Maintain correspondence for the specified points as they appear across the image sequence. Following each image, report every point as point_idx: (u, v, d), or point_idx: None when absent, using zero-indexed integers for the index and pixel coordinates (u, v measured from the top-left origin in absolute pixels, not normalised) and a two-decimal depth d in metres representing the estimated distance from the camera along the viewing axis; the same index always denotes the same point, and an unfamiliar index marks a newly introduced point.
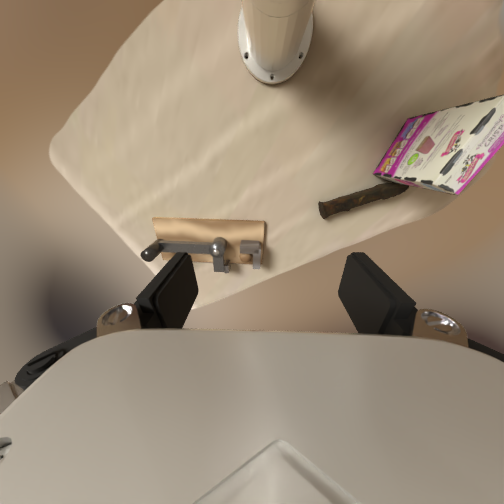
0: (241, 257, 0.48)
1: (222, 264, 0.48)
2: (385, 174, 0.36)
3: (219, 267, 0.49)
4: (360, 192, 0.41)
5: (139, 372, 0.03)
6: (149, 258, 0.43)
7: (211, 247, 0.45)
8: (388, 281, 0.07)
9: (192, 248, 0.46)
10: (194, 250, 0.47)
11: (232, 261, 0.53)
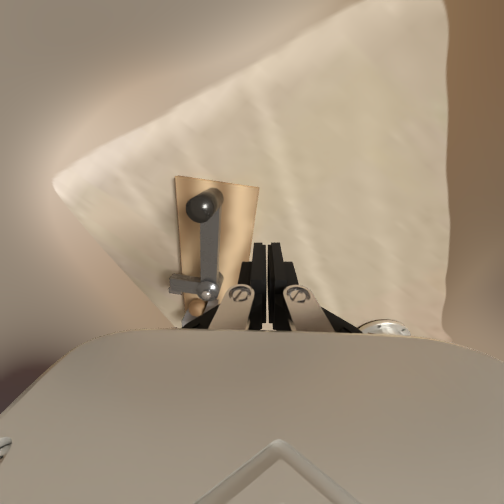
0: (196, 309, 0.36)
1: (184, 291, 0.33)
2: None
3: (178, 286, 0.32)
4: None
5: (139, 372, 0.03)
6: (193, 213, 0.21)
7: (213, 288, 0.31)
8: (279, 264, 0.09)
9: (209, 259, 0.29)
10: (206, 261, 0.29)
11: None
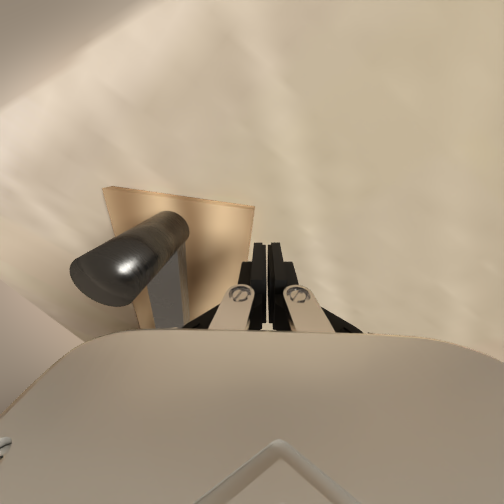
0: None
1: None
2: None
3: None
4: None
5: (139, 372, 0.03)
6: (95, 289, 0.09)
7: None
8: (279, 264, 0.09)
9: None
10: None
11: None
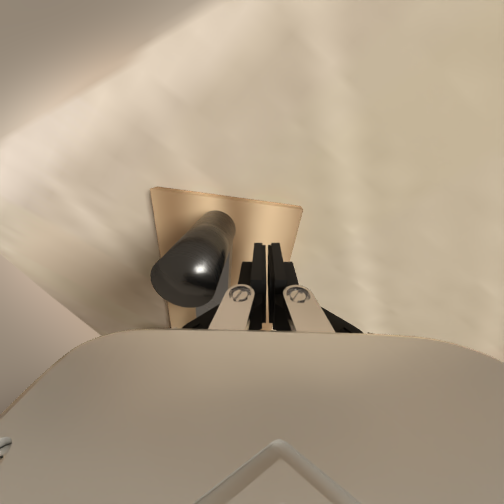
0: None
1: None
2: None
3: None
4: None
5: (139, 372, 0.03)
6: (173, 290, 0.08)
7: None
8: (279, 264, 0.09)
9: None
10: None
11: None
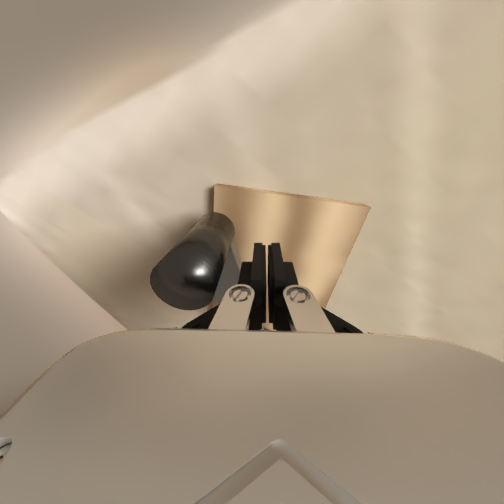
0: None
1: None
2: None
3: None
4: None
5: (139, 372, 0.03)
6: (176, 296, 0.09)
7: None
8: (279, 264, 0.09)
9: None
10: None
11: None
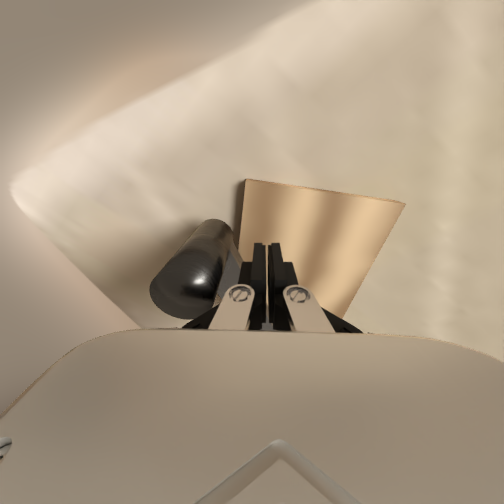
0: None
1: None
2: None
3: None
4: None
5: (139, 372, 0.03)
6: (178, 307, 0.09)
7: None
8: (279, 264, 0.09)
9: None
10: None
11: None
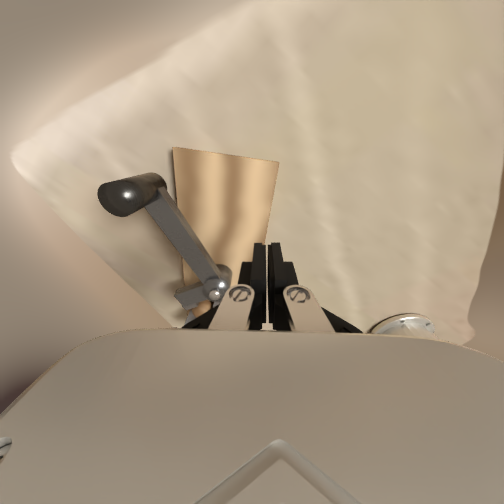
0: (202, 310, 0.31)
1: (195, 301, 0.29)
2: None
3: (187, 299, 0.28)
4: None
5: (139, 372, 0.03)
6: (115, 207, 0.16)
7: (217, 284, 0.26)
8: (279, 264, 0.09)
9: (193, 255, 0.24)
10: (191, 258, 0.24)
11: (187, 283, 0.32)
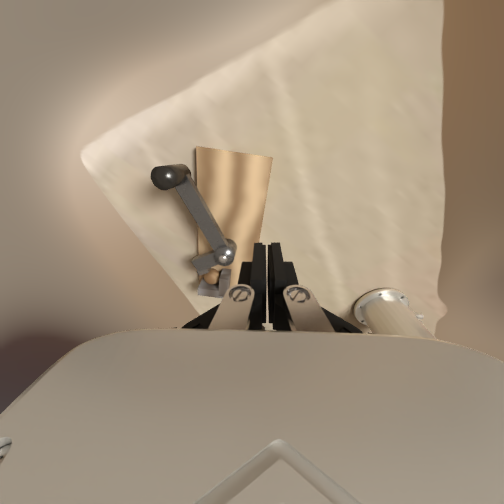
0: (212, 276, 0.39)
1: (207, 267, 0.36)
2: None
3: (201, 265, 0.36)
4: None
5: (139, 372, 0.03)
6: (160, 183, 0.24)
7: (225, 250, 0.34)
8: (279, 264, 0.09)
9: (207, 226, 0.32)
10: (206, 229, 0.32)
11: None
